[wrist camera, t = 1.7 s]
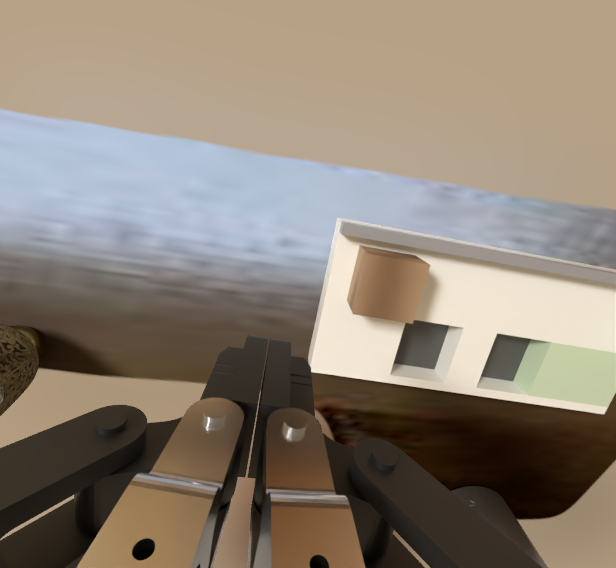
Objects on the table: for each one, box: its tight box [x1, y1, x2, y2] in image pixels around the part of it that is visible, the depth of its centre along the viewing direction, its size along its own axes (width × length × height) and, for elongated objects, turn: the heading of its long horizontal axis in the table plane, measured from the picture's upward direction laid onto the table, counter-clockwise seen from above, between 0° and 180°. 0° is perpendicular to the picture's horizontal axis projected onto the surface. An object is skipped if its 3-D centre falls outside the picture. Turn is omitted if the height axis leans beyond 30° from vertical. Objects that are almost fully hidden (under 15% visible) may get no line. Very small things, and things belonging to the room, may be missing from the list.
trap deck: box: [308, 217, 616, 414], centre depth 28 cm, size 28×13×6 cm, turn 79°
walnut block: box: [347, 245, 430, 324], centre depth 25 cm, size 4×4×3 cm
